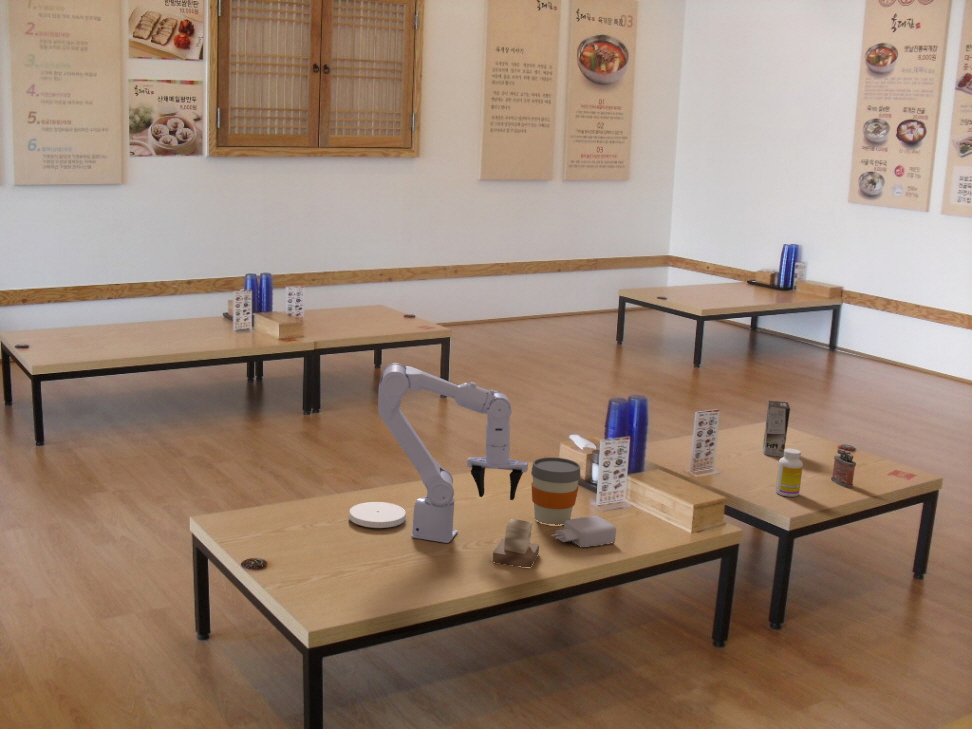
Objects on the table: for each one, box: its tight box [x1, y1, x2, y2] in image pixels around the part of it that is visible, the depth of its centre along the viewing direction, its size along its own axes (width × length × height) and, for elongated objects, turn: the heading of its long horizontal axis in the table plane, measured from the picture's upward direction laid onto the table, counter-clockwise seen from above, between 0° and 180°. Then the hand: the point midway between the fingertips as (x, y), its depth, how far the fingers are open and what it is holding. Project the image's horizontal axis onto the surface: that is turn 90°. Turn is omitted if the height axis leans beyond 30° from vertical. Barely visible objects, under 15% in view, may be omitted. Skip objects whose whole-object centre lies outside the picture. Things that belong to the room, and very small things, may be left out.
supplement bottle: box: [775, 448, 804, 498], centre depth 310 cm, size 7×7×13 cm
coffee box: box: [762, 400, 791, 458], centre depth 350 cm, size 9×6×16 cm
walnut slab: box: [492, 538, 540, 568], centre depth 253 cm, size 9×9×3 cm
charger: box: [551, 515, 617, 548], centre depth 266 cm, size 5×9×15 cm
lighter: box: [830, 448, 857, 489], centre depth 323 cm, size 8×3×10 cm, turn 22°
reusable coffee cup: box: [530, 456, 581, 525], centre depth 278 cm, size 13×12×15 cm
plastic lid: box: [348, 501, 407, 529], centre depth 272 cm, size 14×14×2 cm
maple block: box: [504, 518, 533, 554], centre depth 252 cm, size 5×5×6 cm
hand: (497, 497), depth 263 cm, fingers open, 7 cm apart
